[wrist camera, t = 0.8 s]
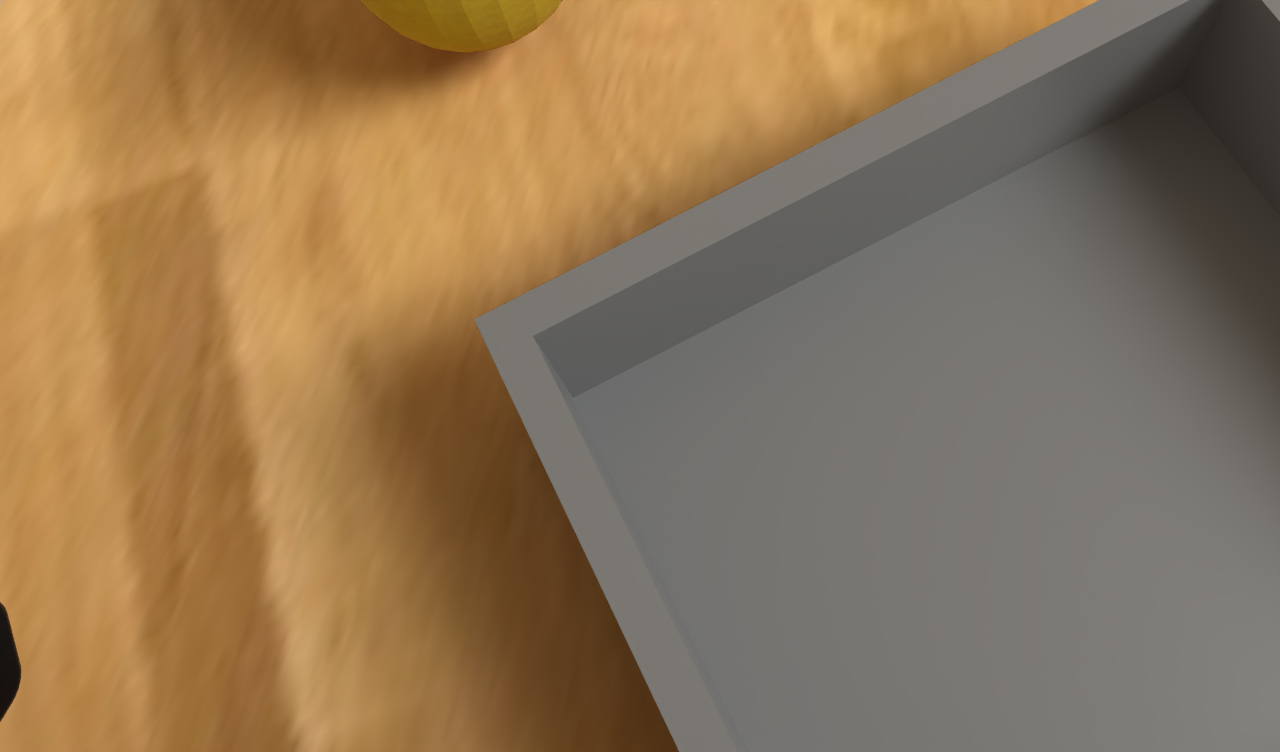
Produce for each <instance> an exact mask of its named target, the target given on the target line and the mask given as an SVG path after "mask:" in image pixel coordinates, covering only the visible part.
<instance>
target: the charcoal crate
mask: <svg viewBox="0 0 1280 752" xmlns="http://www.w3.org/2000/svg"><path fill="white" fill-rule="evenodd" d="M474 321H475V323H476V325H477V327H478V329H479V331H480V333H481V335H482V337H483V340H484V342H485V344H486V346H487V348H488V350H489V352H490V354H491V356H492V359H493V361H494V363H495V365H496V367H497V369H498V371H499V373H500V375H501V378H502V380H503V382H504V384H505V386H506V388H507V390H508V392H509V394H510V396H511V399H512V401H513V403H514V405H515V407H516V409H517V411H518V413H519V415H520V418H521V420H522V422H523V424H524V426H525V428H526V430H527V432H528V434H529V437H530V439H531V441H532V443H533V445H534V447H535V449H536V451H537V453H538V455H539V458H540V460H541V462H542V464H543V466H544V468H545V470H546V472H547V474H548V477H549V479H550V481H551V483H552V485H553V487H554V489H555V491H556V493H557V495H558V498H559V500H560V502H561V504H562V506H563V508H564V510H565V512H566V514H567V517H568V519H569V521H570V523H571V525H572V527H573V529H574V531H575V533H576V536H577V538H578V540H579V542H580V544H581V546H582V548H583V550H584V552H585V554H586V557H587V559H588V561H589V563H590V565H591V567H592V569H593V571H594V573H595V576H596V578H597V580H598V582H599V584H600V586H601V588H602V590H603V592H604V595H605V597H606V599H607V601H608V603H609V605H610V607H611V609H612V611H613V613H614V616H615V618H616V620H617V622H618V624H619V626H620V628H621V630H622V632H623V635H624V637H625V639H626V641H627V643H628V645H629V647H630V649H631V651H632V653H633V656H634V658H635V660H636V662H637V664H638V666H639V668H640V670H641V672H642V675H643V677H644V679H645V681H646V683H647V685H648V687H649V689H650V691H651V694H652V696H653V698H654V700H655V702H656V704H657V706H658V708H659V710H660V712H661V715H662V717H663V719H664V721H665V723H666V725H667V727H668V729H669V731H670V734H671V736H672V738H673V740H674V742H675V744H676V746H677V748H678V750H679V752H1280V0H1099V1H1097V2H1095V3H1093V4H1091V5H1089V6H1087V7H1085V8H1083V9H1081V10H1079V11H1077V12H1075V13H1073V14H1071V15H1069V16H1067V17H1065V18H1063V19H1061V20H1059V21H1057V22H1055V23H1053V24H1052V25H1050V26H1048V27H1046V28H1044V29H1042V30H1040V31H1038V32H1036V33H1034V34H1032V35H1030V36H1028V37H1026V38H1024V39H1022V40H1020V41H1018V42H1016V43H1014V44H1012V45H1010V46H1008V47H1006V48H1005V49H1003V50H1001V51H999V52H997V53H995V54H993V55H991V56H989V57H987V58H985V59H983V60H981V61H979V62H977V63H975V64H973V65H971V66H969V67H967V68H965V69H963V70H961V71H959V72H958V73H956V74H954V75H952V76H950V77H948V78H946V79H944V80H942V81H940V82H938V83H936V84H934V85H932V86H930V87H928V88H926V89H924V90H922V91H920V92H918V93H916V94H914V95H912V96H910V97H909V98H907V99H905V100H903V101H901V102H899V103H897V104H895V105H893V106H891V107H889V108H887V109H885V110H883V111H881V112H879V113H877V114H875V115H873V116H871V117H869V118H867V119H865V120H863V121H862V122H860V123H858V124H856V125H854V126H852V127H850V128H848V129H846V130H844V131H842V132H840V133H838V134H836V135H834V136H832V137H830V138H828V139H826V140H824V141H822V142H820V143H818V144H816V145H815V146H813V147H811V148H809V149H807V150H805V151H803V152H801V153H799V154H797V155H795V156H793V157H791V158H789V159H787V160H785V161H783V162H781V163H779V164H777V165H775V166H773V167H771V168H769V169H767V170H766V171H764V172H762V173H760V174H758V175H756V176H754V177H752V178H750V179H748V180H746V181H744V182H742V183H740V184H738V185H736V186H734V187H732V188H730V189H728V190H726V191H724V192H722V193H720V194H719V195H717V196H715V197H713V198H711V199H709V200H707V201H705V202H703V203H701V204H699V205H697V206H695V207H693V208H691V209H689V210H687V211H685V212H683V213H681V214H679V215H677V216H675V217H673V218H672V219H670V220H668V221H666V222H664V223H662V224H660V225H658V226H656V227H654V228H652V229H650V230H648V231H646V232H644V233H642V234H640V235H638V236H636V237H634V238H632V239H630V240H628V241H626V242H624V243H623V244H621V245H619V246H617V247H615V248H613V249H611V250H609V251H607V252H605V253H603V254H601V255H599V256H597V257H595V258H593V259H591V260H589V261H587V262H585V263H583V264H581V265H579V266H577V267H576V268H574V269H572V270H570V271H568V272H566V273H564V274H562V275H560V276H558V277H556V278H554V279H552V280H550V281H548V282H546V283H544V284H542V285H540V286H538V287H536V288H534V289H532V290H530V291H529V292H527V293H525V294H523V295H521V296H519V297H517V298H515V299H513V300H511V301H509V302H507V303H505V304H503V305H501V306H499V307H497V308H495V309H493V310H491V311H489V312H487V313H485V314H483V315H481V316H480V317H478V318H476V319H474Z"/></svg>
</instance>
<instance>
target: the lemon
mask: <svg viewBox="0 0 1280 752" xmlns="http://www.w3.org/2000/svg"><path fill="white" fill-rule="evenodd" d="M360 1H361V2H362V3H363V4H364V5H365V6H366V7H367V8H368V9H369V10H370V11H371V12H372V13H373V14H374V15H376V16H377V17H378V18H380V19H381V20H382V21H384V22H385V23H386V24H387V25H389V26H390V27H391V28H393V29H394V30H395V31H397V32H398V33H399V34H401V35H403V36H405V37H407V38H409V39H411V40H414V41H416V42H419V43H421V44H424V45H426V46H429V47H431V48H435V49H439V50H447V51H455V52H463V53H466V52H475V51H485V50H492V49H495V48H498V47H501V46H504V45H507V44H510V43H513V42H515V41H517V40H519V39H520V38H522V37H524V36H525V35H527V34H529V33H531V32H532V31H534V30H535V29H537V28H538V27H539V26H540V25H541V24H542V23H543V22H544V21H545V20H546V19H547V18H549V17H550V16H551V15H552V14H553V13H554V12H555V11H556V9H557V8H558V6H559V5H560V3H561V2H562V0H360Z"/></svg>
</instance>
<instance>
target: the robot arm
mask: <svg viewBox="0 0 1280 752" xmlns="http://www.w3.org/2000/svg"><path fill="white" fill-rule="evenodd" d="M20 680H21V665H20V661H19V657H18V653H17V649H16V645H15V641H14V637H13V633H12V629H11V625H10V621H9V618H8V614H7V611H6V609H5V607H4V605H3V604H2V603H1V602H0V722H1V720H2V718H3V717H4V715H5V713H6V712H7V710H8V708H9V707H10V705H11V704H12V702H13V700H14V698H15V696H16V693H17V691H18V688H19V684H20Z"/></svg>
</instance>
